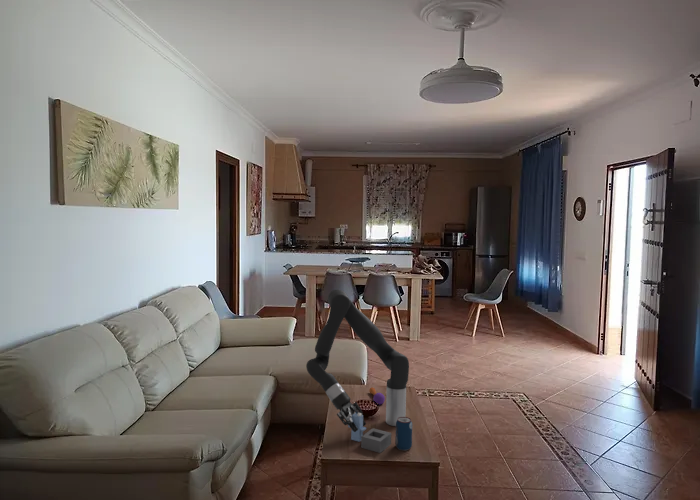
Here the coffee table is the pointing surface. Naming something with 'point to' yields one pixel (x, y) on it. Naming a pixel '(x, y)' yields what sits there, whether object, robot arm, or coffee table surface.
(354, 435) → the block
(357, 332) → the robot arm
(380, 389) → the coffee table surface
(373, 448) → the grey block with hole
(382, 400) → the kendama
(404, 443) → the soda can
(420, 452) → the coffee table surface
